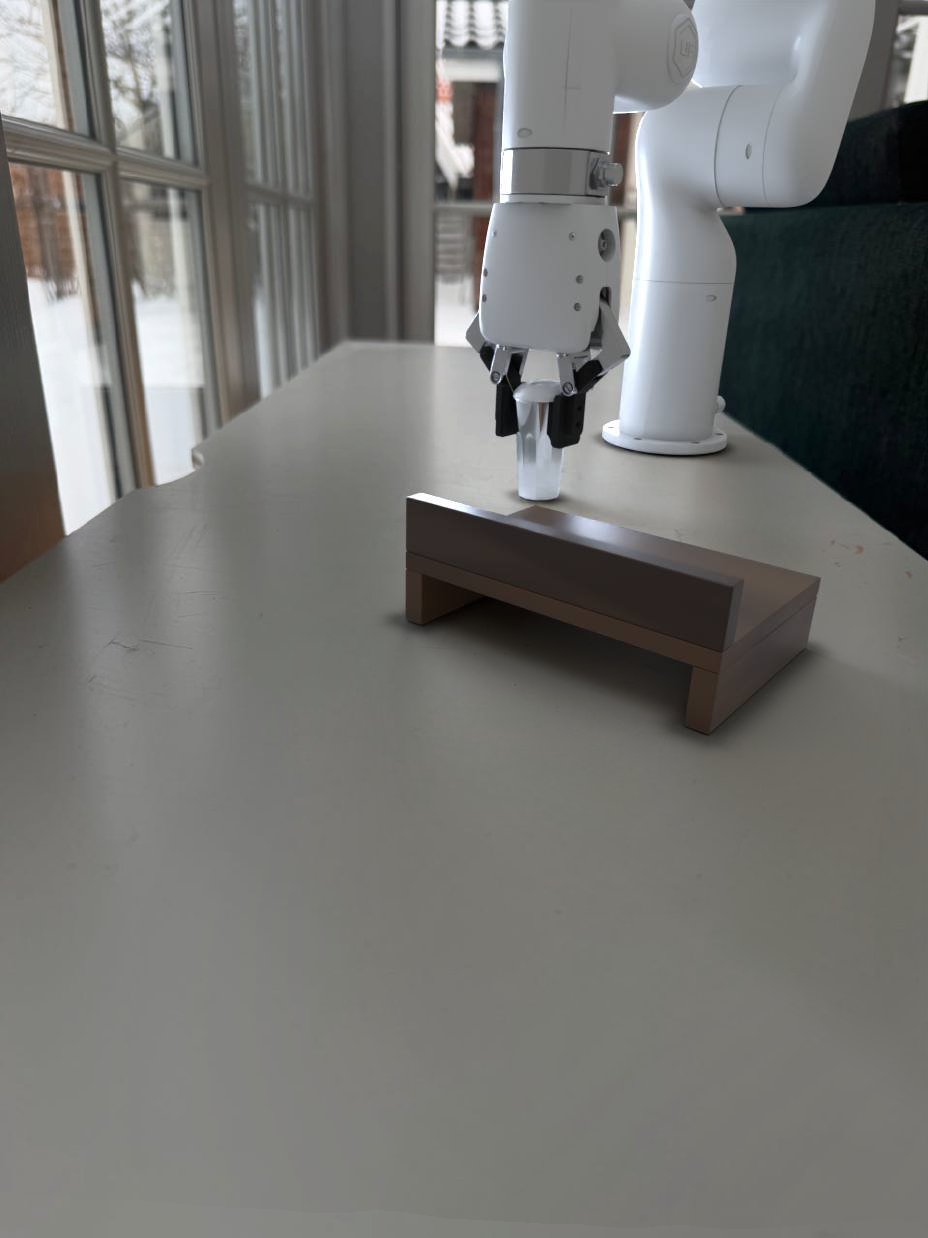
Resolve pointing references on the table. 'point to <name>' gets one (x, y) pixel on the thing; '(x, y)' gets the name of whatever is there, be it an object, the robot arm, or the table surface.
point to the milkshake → (536, 440)
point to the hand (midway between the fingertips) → (537, 437)
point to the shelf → (616, 591)
